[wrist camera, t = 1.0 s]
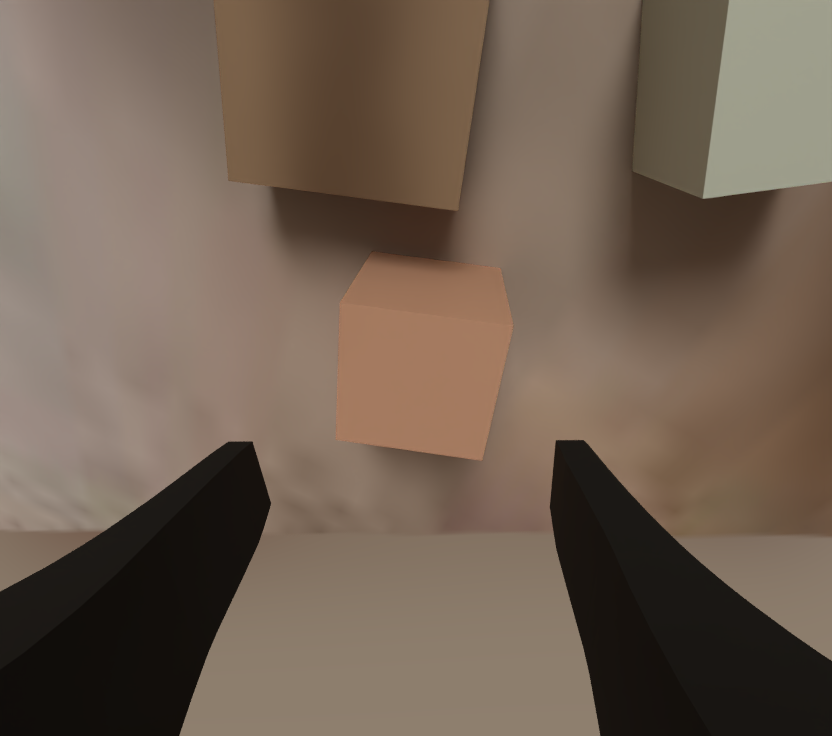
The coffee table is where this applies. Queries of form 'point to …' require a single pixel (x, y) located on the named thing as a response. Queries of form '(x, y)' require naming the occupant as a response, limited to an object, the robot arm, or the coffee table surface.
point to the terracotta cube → (421, 354)
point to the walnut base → (351, 95)
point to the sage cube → (734, 95)
